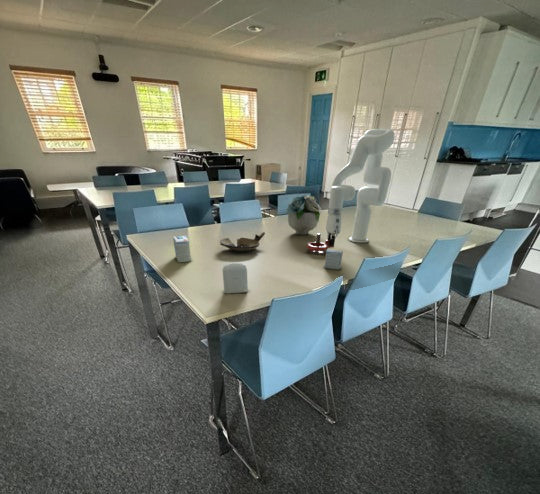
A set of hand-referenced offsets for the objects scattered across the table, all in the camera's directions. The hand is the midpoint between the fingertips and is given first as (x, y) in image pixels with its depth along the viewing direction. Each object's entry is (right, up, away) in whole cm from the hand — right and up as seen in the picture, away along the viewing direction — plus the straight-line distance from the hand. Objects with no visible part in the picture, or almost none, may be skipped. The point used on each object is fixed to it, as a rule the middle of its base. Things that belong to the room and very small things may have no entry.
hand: (330, 244), depth 184 cm
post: (-8, -4, 0) cm, 9 cm away
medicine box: (-3, -21, -23) cm, 31 cm away
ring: (-6, -2, -1) cm, 6 cm away
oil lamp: (-51, -3, 0) cm, 51 cm away
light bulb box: (-83, -14, -17) cm, 86 cm away
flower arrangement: (-13, +22, +36) cm, 44 cm away
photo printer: (-51, -39, -51) cm, 82 cm away
